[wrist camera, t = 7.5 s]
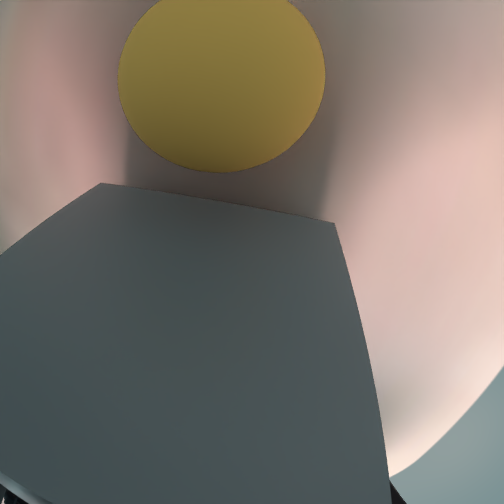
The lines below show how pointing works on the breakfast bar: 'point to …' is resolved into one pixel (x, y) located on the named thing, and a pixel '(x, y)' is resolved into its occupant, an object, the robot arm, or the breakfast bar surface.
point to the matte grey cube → (184, 358)
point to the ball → (221, 81)
